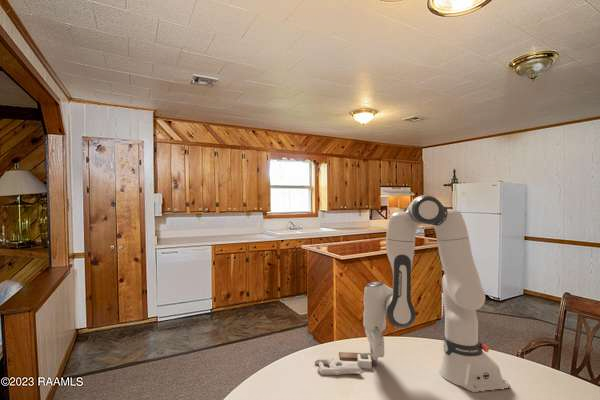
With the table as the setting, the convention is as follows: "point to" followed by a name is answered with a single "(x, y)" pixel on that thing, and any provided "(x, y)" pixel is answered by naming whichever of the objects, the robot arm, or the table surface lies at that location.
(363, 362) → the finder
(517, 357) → the table surface
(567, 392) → the table surface
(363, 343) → the table surface
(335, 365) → the gun
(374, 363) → the tan rounded rod
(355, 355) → the bar
